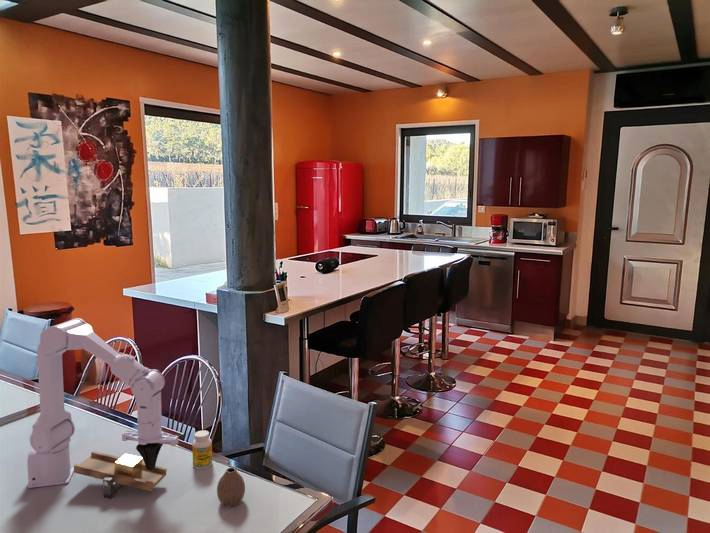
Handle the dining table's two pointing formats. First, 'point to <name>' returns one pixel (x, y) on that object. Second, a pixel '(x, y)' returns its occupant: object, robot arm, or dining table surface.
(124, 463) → the block
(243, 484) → the vase
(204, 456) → the supplement bottle
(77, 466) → the beam
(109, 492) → the stand
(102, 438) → the dining table surface
